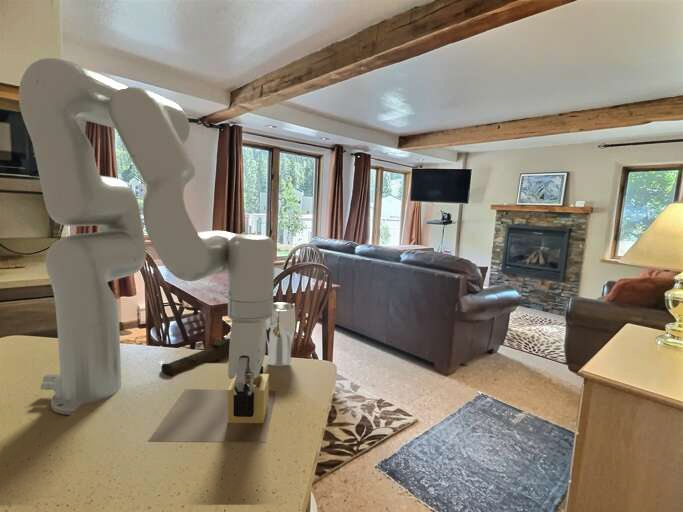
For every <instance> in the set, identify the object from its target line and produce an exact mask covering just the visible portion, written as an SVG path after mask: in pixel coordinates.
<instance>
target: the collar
mask: <svg viewBox="0 0 683 512" xmlns="http://www.w3.org/2000/svg"><path fill="white" fill-rule="evenodd" d="M236 375H237V374H236ZM246 375H251V374H246ZM269 378H270V374H269V373H263V374H259V375H258V377H257V378H255V379H254V382H253V384H257V387H253V390H252V393H254V414H253V416H252V417H235V416H234V388H235V380H236V376H235V378H232V381H231V383H230V385H229V387H228V389H227V390H228V423H264V419H265V415H266V411H267V407H268V391H269V385H270V383H269V381H270V379H269ZM245 381H246V382H245V383H249V380H245Z"/></svg>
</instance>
